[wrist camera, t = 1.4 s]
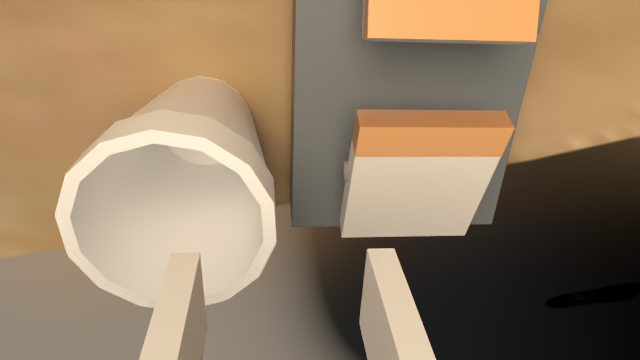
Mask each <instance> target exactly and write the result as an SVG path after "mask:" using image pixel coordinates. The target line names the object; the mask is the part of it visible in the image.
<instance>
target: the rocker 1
mask: <svg viewBox="0 0 640 360" xmlns="http://www.w3.org/2000/svg"><path fill="white" fill-rule="evenodd" d="M539 5H540V0H363V17H362V41H376V42H419V43H462V44H505V45H523V44H528V43H533V42H536V39H537V28H538V16H539Z"/></svg>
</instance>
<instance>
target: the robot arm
mask: <svg viewBox="0 0 640 360" xmlns="http://www.w3.org/2000/svg"><path fill="white" fill-rule="evenodd" d="M359 323H360V328H361V332H362V337H363V341H364V345H365V350H366V355H367V360H436V358H435V355H434V353H433V350H432V348H431V345H430V342H429V340H428V337H427V334H426V332H425V329H424V326H423V324H422V321H421V318H420V316H419V313H418V311H417V308H416V305H415V302H414V300H413V297H412V295H411V292H410V289H409V287H408V284H407V281H406V279H405V276H404V274H403V271H402V268H401V266H400V263H399V260H398V257H397V255H396V252H395V250H394V248H387V249H385V248H383V249H367V256H366V264H365V274H364V283H363V293H362V301H361V311H360V321H359ZM206 331H207V322H206V312H205V300H204V289H203V278H202V267H201V257H200V252H186V253H171V254H170V258H169V261H168V264H167V268H166V271H165V274H164V278H163V281H162V284H161V288H160V291H159V294H158V298H157V301H156V304H155V308H154V311H153V314H152V318H151V321H150V325H149V328H148V331H147V335H146V338H145V341H144V345H143V348H142V351H141V355H140V358H139V360H202V357H203V350H204V344H205V338H206Z"/></svg>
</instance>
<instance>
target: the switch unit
mask: <svg viewBox="0 0 640 360" xmlns="http://www.w3.org/2000/svg"><path fill="white" fill-rule="evenodd" d="M546 3H547V0H540V5H539V16H538V28H537V39H536V42H533V43H528V44H523V45H505V44H462V43H419V42H376V41H362V17H363V0H293V27H292V96H291V165H290V204H291V218H292V227H326V226H327V227H328V226H340V221H339V220H340V213H341V207H342V200H343V194H344V187H345V181H343V178H342V163H343V161H349V154H350V148H351V141H352V134H353V128H354V121H355V115H356V109H384V110H496V111H506V113H507V115H508V116H509V118H510V120H511V122H512V124H513V126H514V128H516V124H517V120H518V116H519V112H520V108H521V104H522V100H523V96H524V92H525V88H526V84H527V80H528V76H529V72H530V68H531V64H532V60H533V56H534V52H535V48H536V44H537V40H538V36H539V32H540V28H541V24H542V20H543V16H544V11H545V7H546ZM514 132H515V129H514V131H513V133H512V135H511V137H510V140H509V142H508V144H507V146H506V148H505V150H504V153H503V155H502V157H501V158H500V160H499V162H498V164H497V167H496V169H495V171H494V173H493V175H492V177H491V180H490V182H489V184H488V186H487V188H486V190H485V193H484V195H483V197H482V199H481V201H480V203H479V206H478V208H477V210H476V212H475V214H474V216H473V218H472V221H471V223H470V224H492V220H493V216H494V212H495V208H496V204H497V200H498V196H499V192H500V188H501V184H502V180H503V176H504V172H505V168H506V164H507V160H508V156H509V152H510V148H511V144H512V140H513V136H514Z"/></svg>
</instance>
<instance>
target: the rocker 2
mask: <svg viewBox="0 0 640 360" xmlns="http://www.w3.org/2000/svg"><path fill="white" fill-rule="evenodd" d="M514 129H515V128H514V126H513V124H512V122H511V120H510V118H509V116H508V115H507V113H506V111H496V110H384V109H356V115H355V121H354V128H353V134H352V141H351V148H350V154H349V161H343V163H342V178H343V181H345V187H344V194H343V200H342V207H341V213H340V220H339V221H340V228H341V236H342V237H396V236H449V235H450V236H452V235H453V236H454V235H465V233H466V231H467V229H468V227H469V225H470V223H471V221H472V218H473V216H474V214H475V212H476V210H477V208H478V206H479V203H480V201H481V199H482V197H483V195H484V193H485V190H486V188H487V186H488V184H489V182H490V180H491V177H492V175H493V173H494V171H495V169H496V167H497V164H498V162H499V160H500V158H501V157H502V155H503V153H504V150H505V148H506V146H507V144H508V142H509V140H510V137H511V135H512V133H513V131H514Z"/></svg>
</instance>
